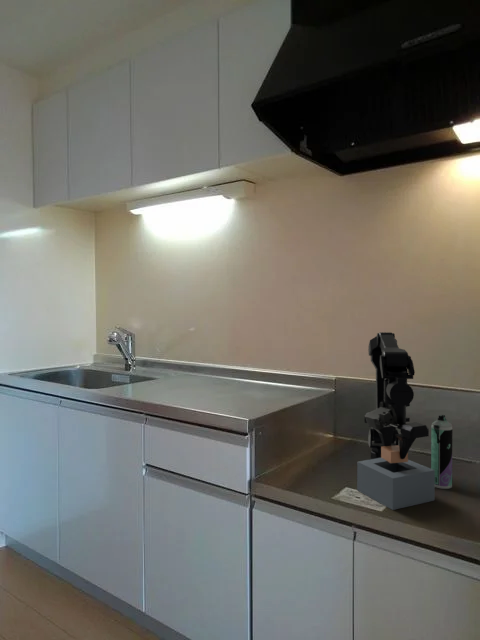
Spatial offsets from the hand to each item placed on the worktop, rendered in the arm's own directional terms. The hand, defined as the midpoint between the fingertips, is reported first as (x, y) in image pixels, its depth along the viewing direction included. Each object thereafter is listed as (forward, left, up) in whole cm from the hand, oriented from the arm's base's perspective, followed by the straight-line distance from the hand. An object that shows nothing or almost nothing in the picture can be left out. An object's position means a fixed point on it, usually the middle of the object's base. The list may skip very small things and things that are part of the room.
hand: (394, 455), depth 128 cm
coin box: (0, 0, -11) cm, 11 cm away
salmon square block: (0, 0, -1) cm, 1 cm away
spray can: (-17, 0, -11) cm, 20 cm away
